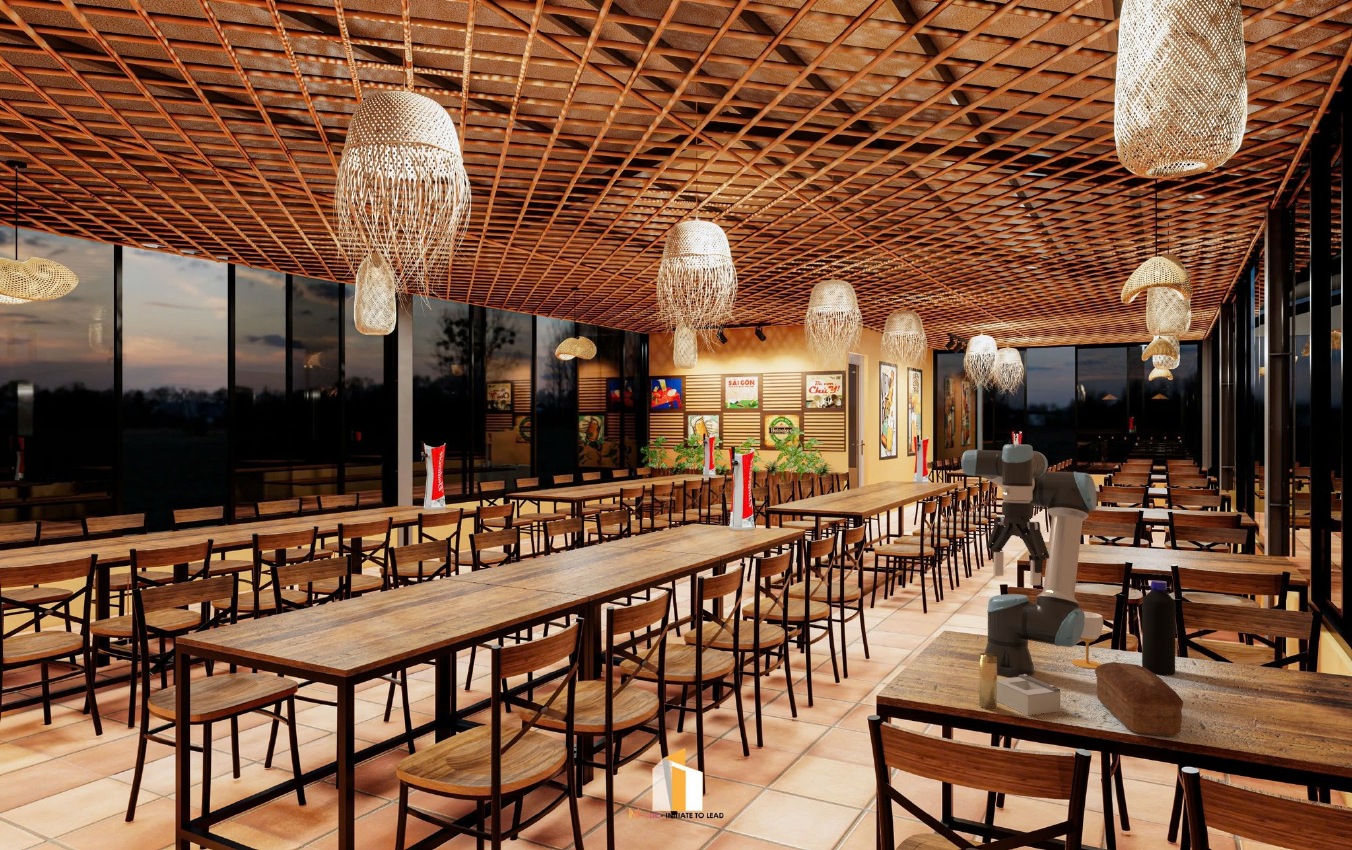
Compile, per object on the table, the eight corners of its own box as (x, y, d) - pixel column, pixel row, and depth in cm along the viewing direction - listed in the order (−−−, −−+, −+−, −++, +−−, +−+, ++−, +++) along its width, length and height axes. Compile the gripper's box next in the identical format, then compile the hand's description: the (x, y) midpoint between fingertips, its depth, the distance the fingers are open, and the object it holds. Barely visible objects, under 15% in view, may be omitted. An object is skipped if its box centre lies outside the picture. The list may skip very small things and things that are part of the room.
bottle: (1180, 676, 237) (1180, 585, 237) (1148, 674, 239) (1149, 583, 239) (1167, 668, 245) (1168, 579, 246) (1137, 666, 247) (1138, 578, 247)
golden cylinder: (988, 703, 212) (989, 652, 212) (1000, 709, 207) (1000, 656, 207) (975, 705, 210) (976, 653, 210) (986, 710, 206) (987, 658, 206)
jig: (1024, 695, 218) (1024, 672, 218) (1060, 711, 206) (1060, 687, 206) (993, 699, 215) (993, 676, 215) (1027, 715, 203) (1028, 691, 203)
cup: (1109, 669, 244) (1109, 618, 244) (1080, 668, 244) (1080, 617, 244) (1093, 660, 253) (1094, 611, 253) (1066, 660, 253) (1066, 611, 253)
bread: (1143, 702, 214) (1143, 657, 215) (1190, 742, 187) (1190, 691, 187) (1089, 698, 217) (1089, 654, 217) (1127, 737, 189) (1128, 687, 190)
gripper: (974, 497, 219) (973, 572, 219) (1041, 506, 196) (1040, 590, 195) (995, 497, 222) (994, 571, 221) (1064, 505, 198) (1064, 588, 198)
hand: (1016, 580), depth 208 cm, fingers open, 13 cm apart
